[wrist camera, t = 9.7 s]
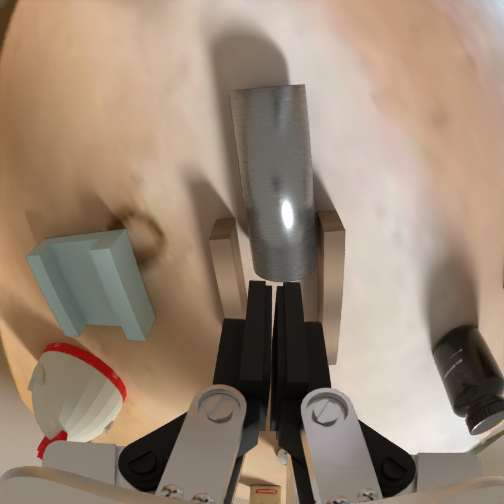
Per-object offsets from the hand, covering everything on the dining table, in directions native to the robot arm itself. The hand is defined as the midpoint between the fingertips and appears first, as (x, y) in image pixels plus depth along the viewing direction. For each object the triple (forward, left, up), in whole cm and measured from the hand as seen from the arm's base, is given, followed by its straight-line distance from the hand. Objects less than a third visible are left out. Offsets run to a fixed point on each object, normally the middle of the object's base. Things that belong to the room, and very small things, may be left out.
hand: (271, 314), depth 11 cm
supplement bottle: (-21, -21, -15) cm, 33 cm away
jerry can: (-68, +6, -15) cm, 69 cm away
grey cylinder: (+1, 0, -15) cm, 15 cm away
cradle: (-8, +18, -15) cm, 24 cm away
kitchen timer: (-25, +29, -15) cm, 41 cm away
